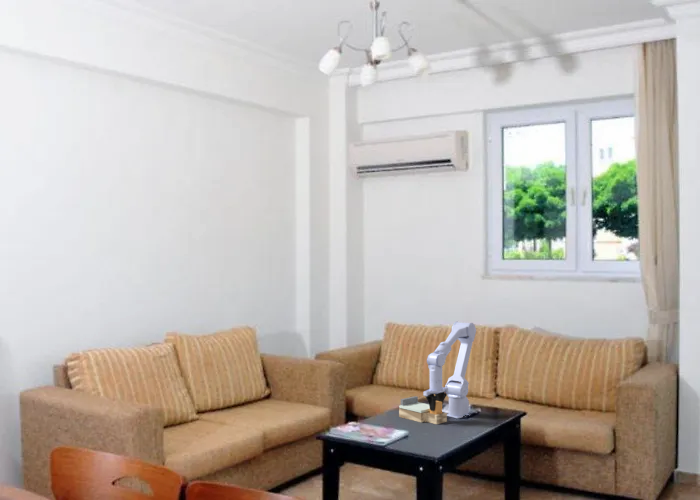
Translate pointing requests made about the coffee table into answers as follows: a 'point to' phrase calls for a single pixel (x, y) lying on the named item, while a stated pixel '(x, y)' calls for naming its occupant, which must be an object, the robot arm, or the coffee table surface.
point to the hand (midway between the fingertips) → (435, 409)
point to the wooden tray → (423, 416)
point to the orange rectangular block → (437, 408)
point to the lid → (414, 405)
